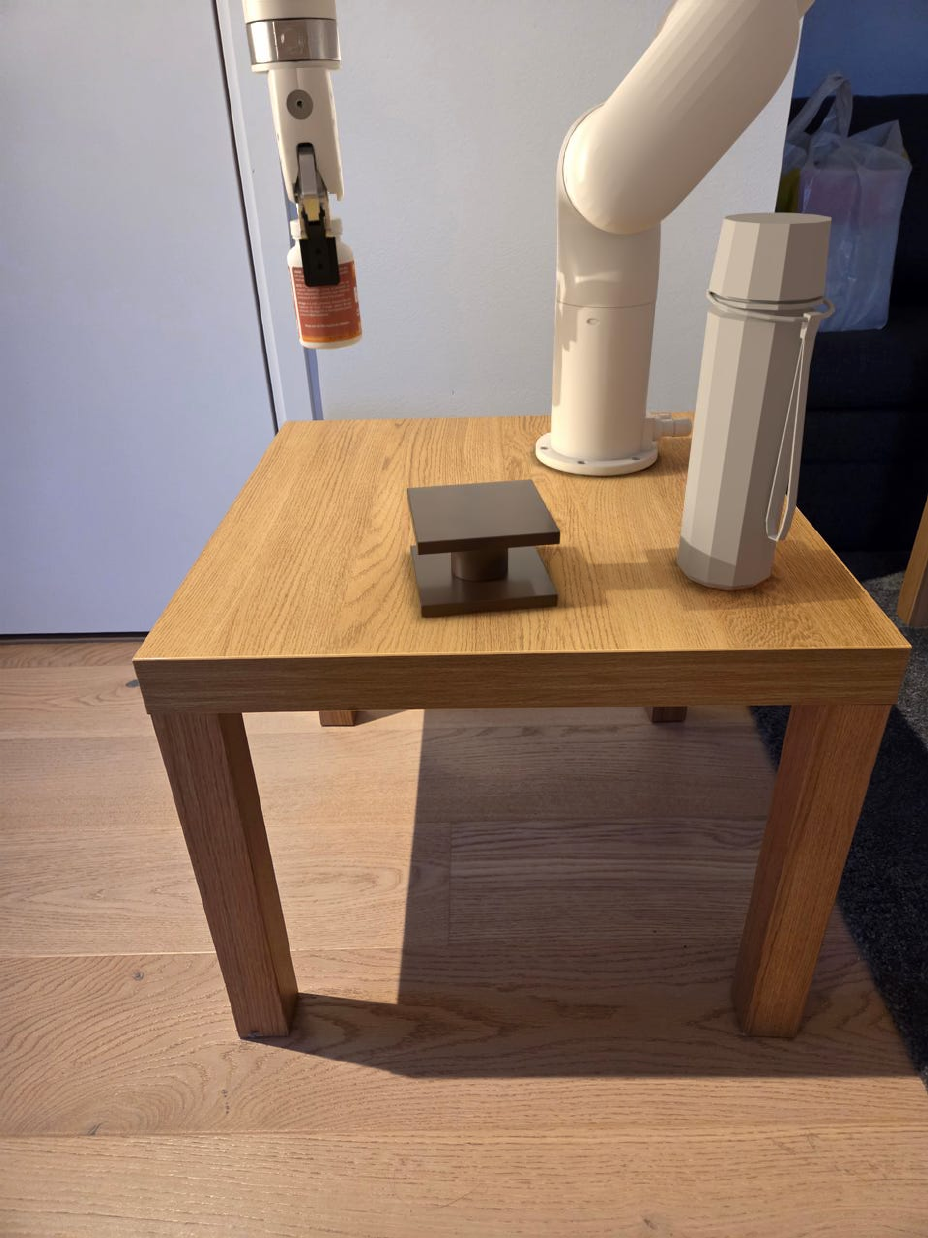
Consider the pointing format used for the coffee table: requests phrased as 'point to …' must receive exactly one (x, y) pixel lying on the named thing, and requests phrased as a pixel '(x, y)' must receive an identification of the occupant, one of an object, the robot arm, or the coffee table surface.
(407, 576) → the coffee table surface
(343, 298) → the pill bottle
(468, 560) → the stand
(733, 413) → the water bottle
